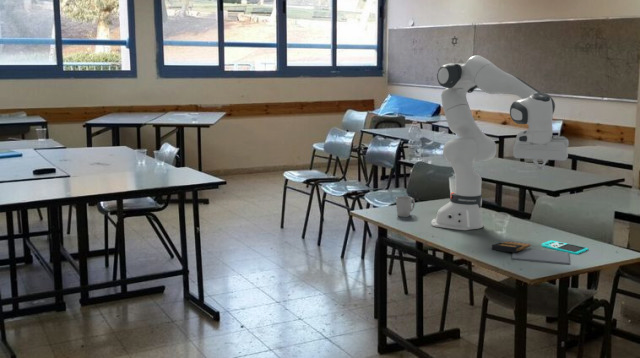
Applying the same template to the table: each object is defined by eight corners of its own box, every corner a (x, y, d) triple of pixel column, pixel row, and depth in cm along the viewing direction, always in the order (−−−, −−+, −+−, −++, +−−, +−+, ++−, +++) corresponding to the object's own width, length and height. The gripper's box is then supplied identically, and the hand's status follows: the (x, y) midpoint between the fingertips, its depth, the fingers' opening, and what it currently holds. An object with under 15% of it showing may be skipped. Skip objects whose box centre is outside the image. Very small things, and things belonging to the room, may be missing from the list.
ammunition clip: (491, 244, 261) (508, 239, 269) (491, 249, 262) (509, 244, 269) (515, 247, 253) (533, 242, 261) (516, 252, 254) (533, 247, 261)
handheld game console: (551, 242, 274) (551, 239, 273) (589, 251, 262) (589, 247, 262) (538, 247, 267) (538, 243, 267) (577, 256, 255) (577, 252, 255)
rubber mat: (512, 259, 249) (512, 257, 249) (513, 249, 262) (513, 247, 262) (569, 264, 243) (569, 263, 243) (568, 253, 256) (568, 252, 256)
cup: (392, 215, 316) (392, 197, 315) (408, 212, 321) (409, 195, 320) (402, 218, 310) (402, 200, 308) (419, 215, 315) (419, 197, 313)
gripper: (570, 134, 258) (569, 167, 263) (515, 132, 267) (515, 164, 272) (567, 139, 253) (566, 173, 258) (512, 137, 262) (512, 170, 267)
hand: (540, 169), depth 265 cm, fingers closed
